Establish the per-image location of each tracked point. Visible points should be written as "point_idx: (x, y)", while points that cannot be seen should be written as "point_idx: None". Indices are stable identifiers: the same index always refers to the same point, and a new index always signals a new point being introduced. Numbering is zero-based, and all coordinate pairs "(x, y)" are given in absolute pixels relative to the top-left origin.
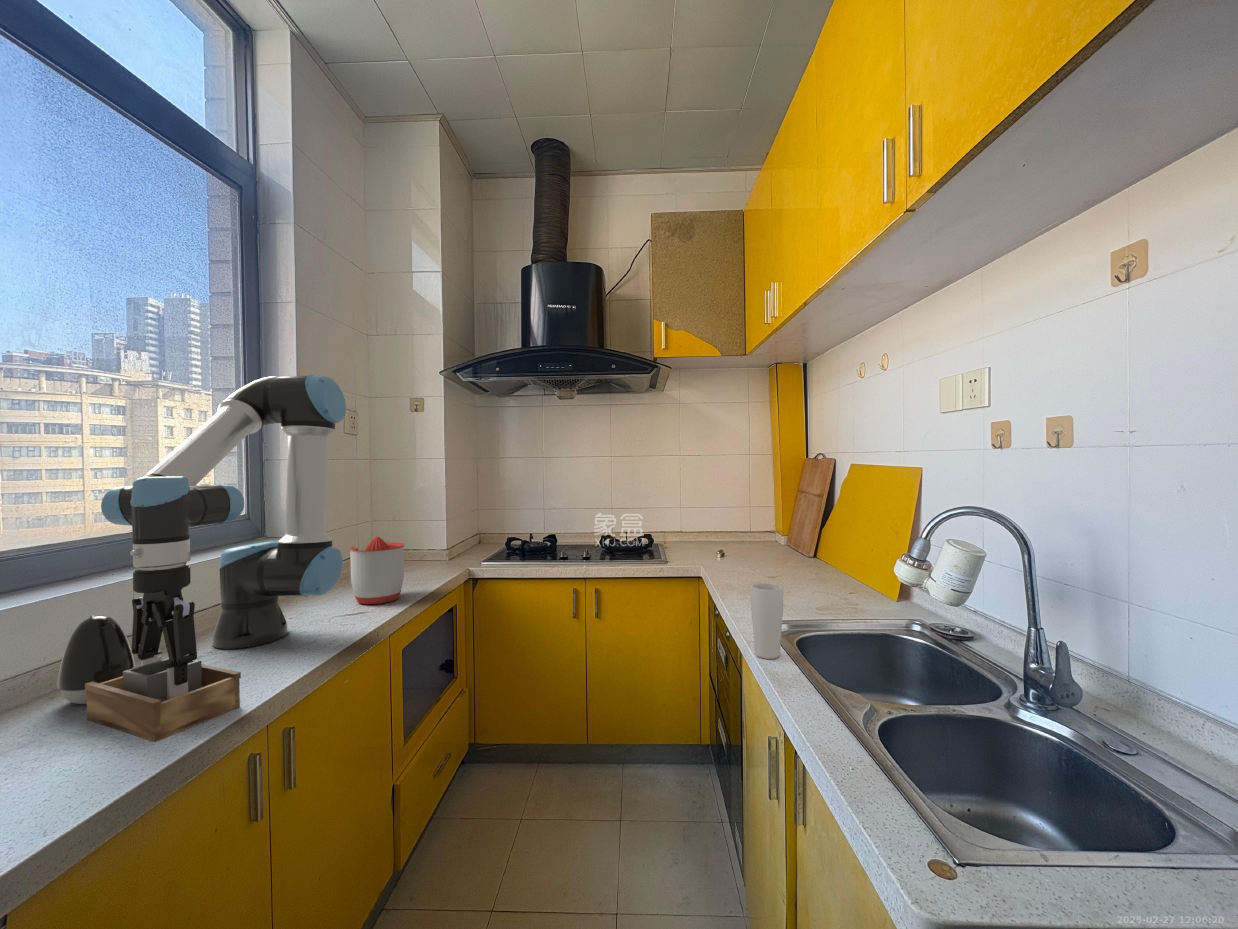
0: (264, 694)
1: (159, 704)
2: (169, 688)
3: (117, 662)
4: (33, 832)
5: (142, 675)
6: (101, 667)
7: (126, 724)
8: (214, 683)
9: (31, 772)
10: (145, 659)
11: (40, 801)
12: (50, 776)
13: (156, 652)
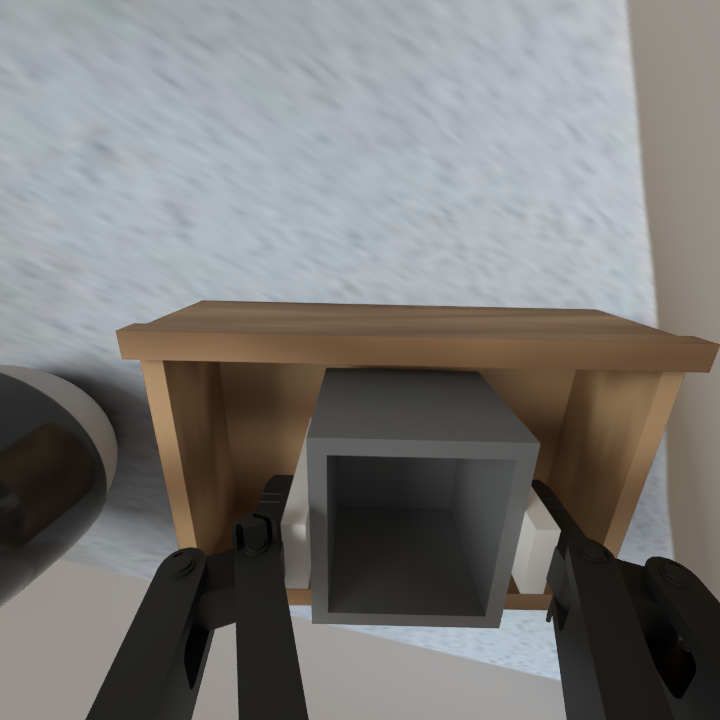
0: (600, 198)
1: None
2: None
3: (28, 506)
4: None
5: (456, 623)
6: (45, 548)
7: None
8: (646, 432)
9: (419, 627)
10: (288, 573)
11: (550, 654)
12: None
13: (276, 551)
